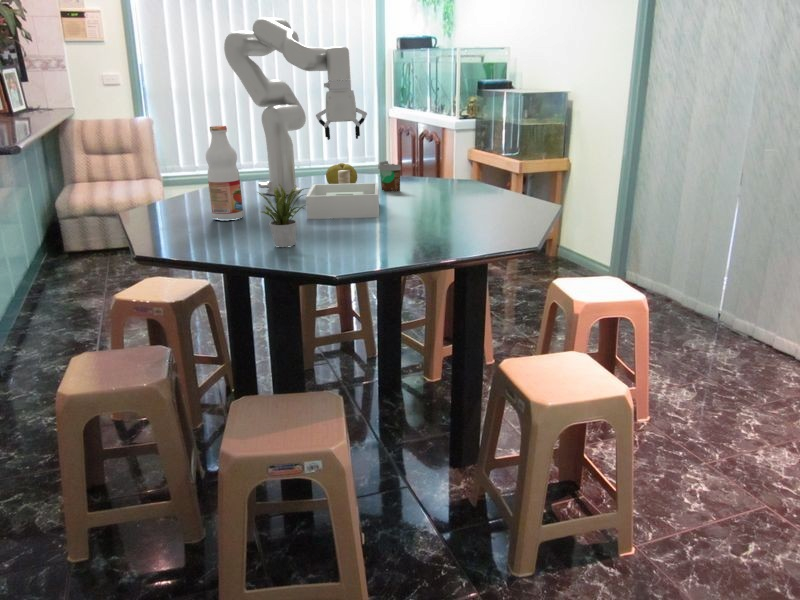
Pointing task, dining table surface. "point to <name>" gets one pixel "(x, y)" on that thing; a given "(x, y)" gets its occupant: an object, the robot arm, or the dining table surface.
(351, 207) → the box
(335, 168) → the fruit
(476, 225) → the dining table surface
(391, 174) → the food container
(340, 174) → the peg
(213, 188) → the fruit juice
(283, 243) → the house plant
